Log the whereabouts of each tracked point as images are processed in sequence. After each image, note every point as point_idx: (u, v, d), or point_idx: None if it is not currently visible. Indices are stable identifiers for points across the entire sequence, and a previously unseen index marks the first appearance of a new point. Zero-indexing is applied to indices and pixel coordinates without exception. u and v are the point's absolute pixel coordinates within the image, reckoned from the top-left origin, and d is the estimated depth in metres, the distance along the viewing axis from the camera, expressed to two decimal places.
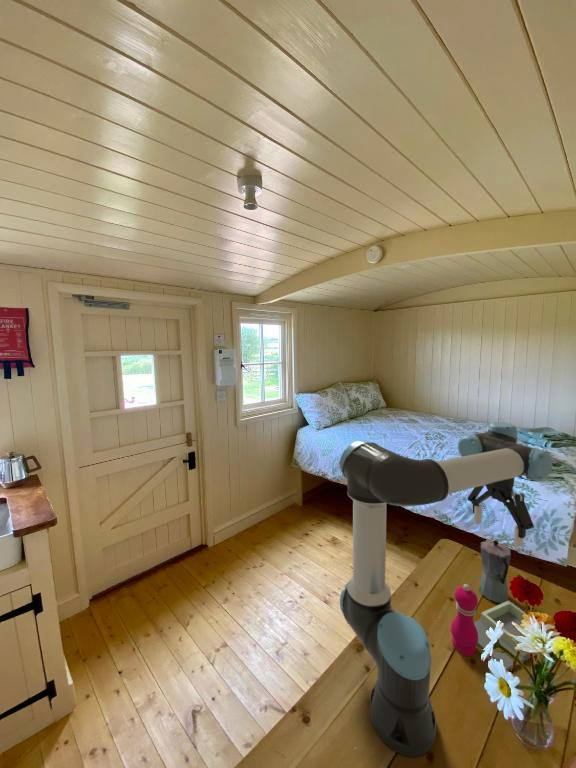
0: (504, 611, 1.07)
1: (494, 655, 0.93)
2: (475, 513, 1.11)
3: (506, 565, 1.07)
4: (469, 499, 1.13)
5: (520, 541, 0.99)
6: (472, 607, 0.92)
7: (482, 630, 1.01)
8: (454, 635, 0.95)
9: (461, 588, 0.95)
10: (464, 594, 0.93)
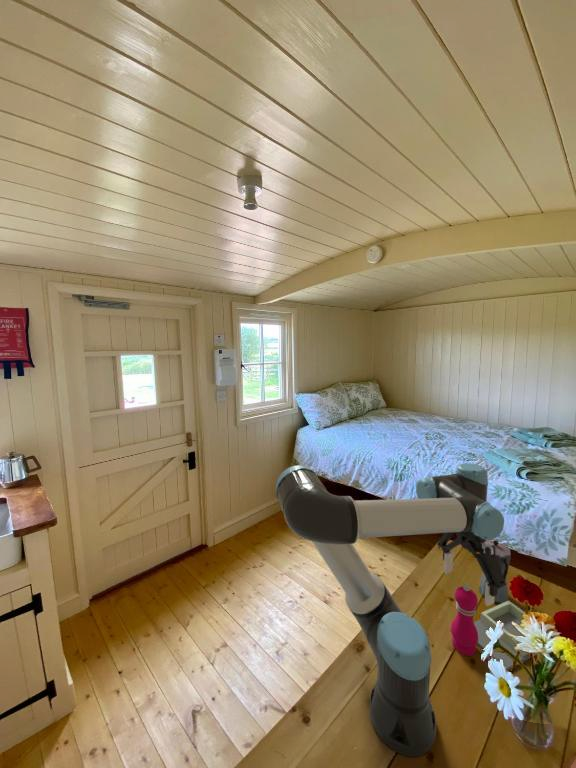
0: (504, 611, 1.07)
1: (494, 655, 0.93)
2: (445, 561, 1.00)
3: (506, 565, 1.07)
4: (439, 544, 1.02)
5: (492, 599, 0.88)
6: (472, 607, 0.92)
7: (482, 630, 1.01)
8: (454, 635, 0.95)
9: (461, 588, 0.95)
10: (464, 594, 0.93)
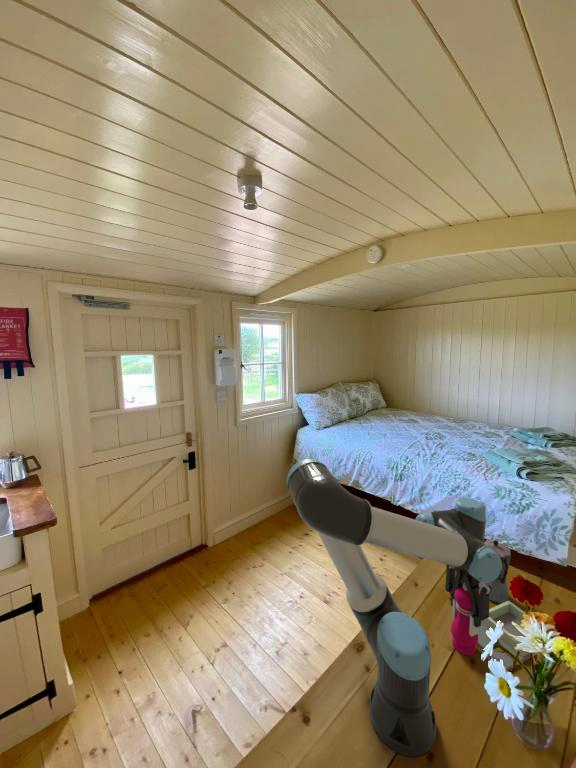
0: (504, 611, 1.07)
1: (494, 655, 0.93)
2: (453, 607, 0.98)
3: (506, 565, 1.07)
4: (447, 589, 1.00)
5: (476, 629, 0.93)
6: None
7: (482, 630, 1.01)
8: (454, 635, 0.95)
9: (461, 588, 0.96)
10: (464, 594, 0.93)
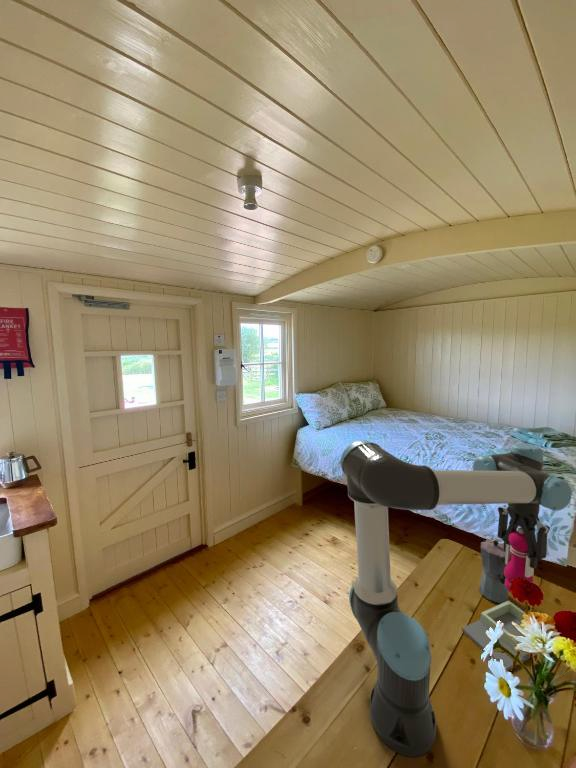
0: (504, 611, 1.07)
1: (494, 655, 0.93)
2: (507, 552, 1.00)
3: None
4: (499, 535, 1.02)
5: (531, 571, 0.95)
6: None
7: (482, 630, 1.01)
8: (509, 578, 0.97)
9: (515, 532, 0.97)
10: (519, 537, 0.95)
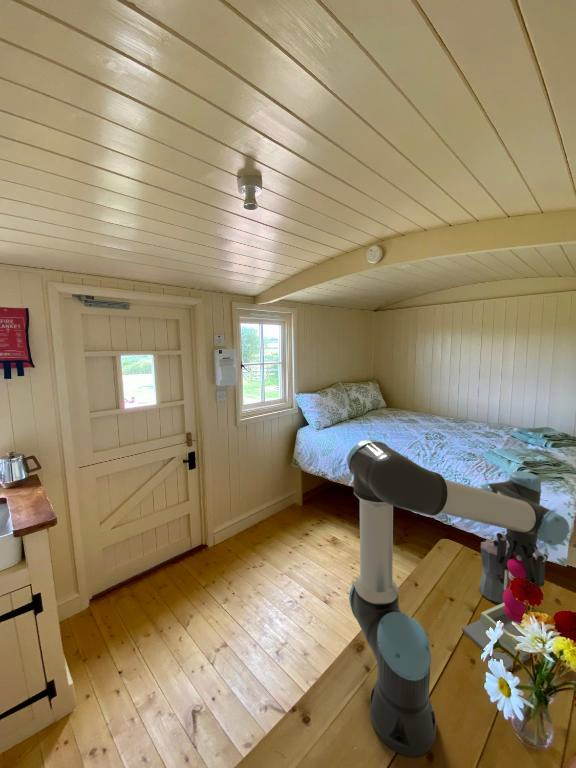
0: None
1: (494, 655, 0.93)
2: (505, 578, 1.01)
3: None
4: (498, 561, 1.03)
5: None
6: None
7: (482, 630, 1.01)
8: (507, 604, 0.98)
9: (514, 558, 0.99)
10: (518, 564, 0.96)
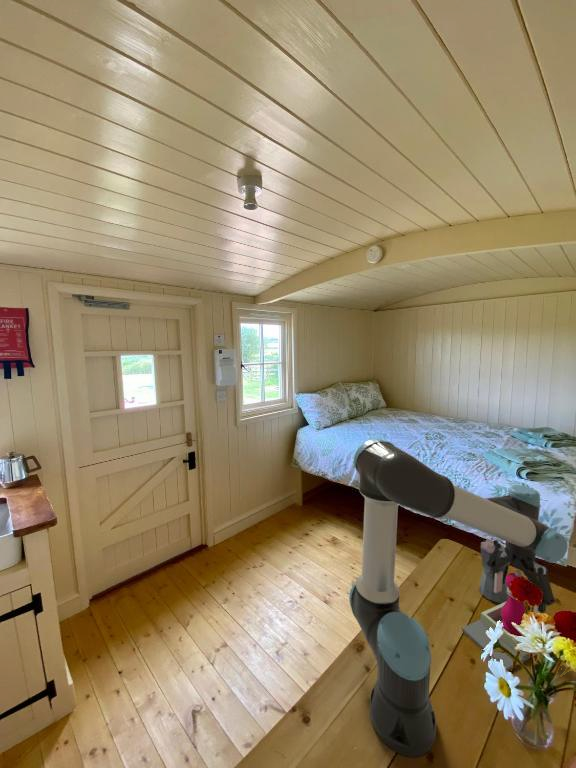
0: None
1: (494, 655, 0.93)
2: (495, 581, 1.04)
3: None
4: (489, 564, 1.06)
5: None
6: None
7: (482, 630, 1.01)
8: (506, 619, 0.99)
9: (512, 574, 0.99)
10: None
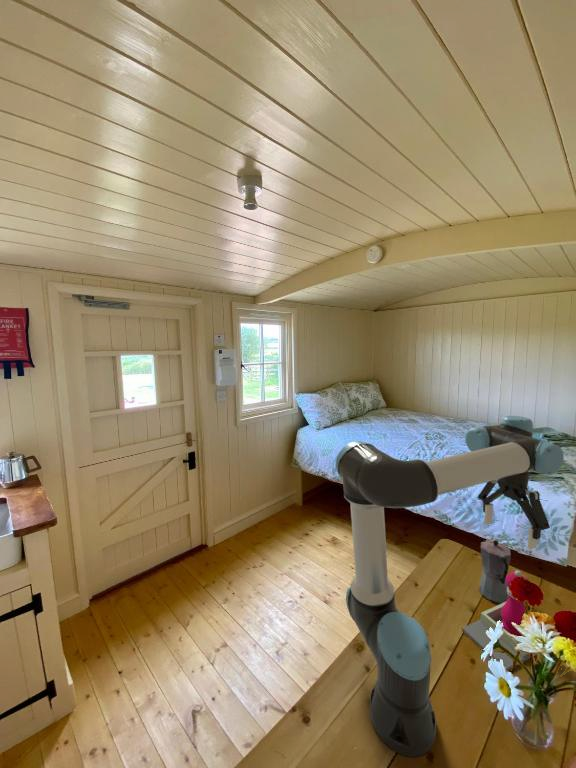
0: None
1: (494, 655, 0.93)
2: (486, 512, 1.04)
3: (506, 565, 1.07)
4: (479, 497, 1.06)
5: (534, 542, 0.92)
6: None
7: (482, 630, 1.01)
8: (506, 619, 0.99)
9: (512, 574, 0.99)
10: None
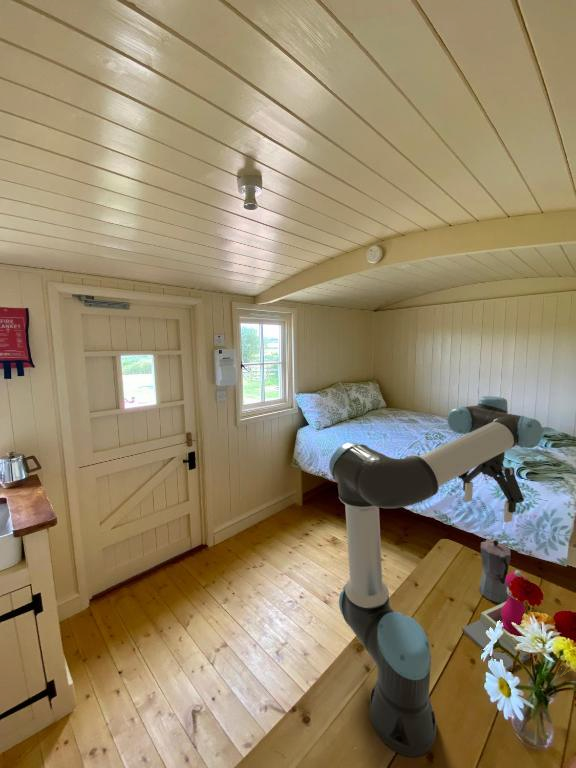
0: None
1: (494, 655, 0.93)
2: (466, 490, 1.09)
3: (506, 565, 1.07)
4: (460, 476, 1.11)
5: (510, 516, 0.97)
6: None
7: (482, 630, 1.01)
8: (506, 619, 0.99)
9: (512, 574, 0.99)
10: None
